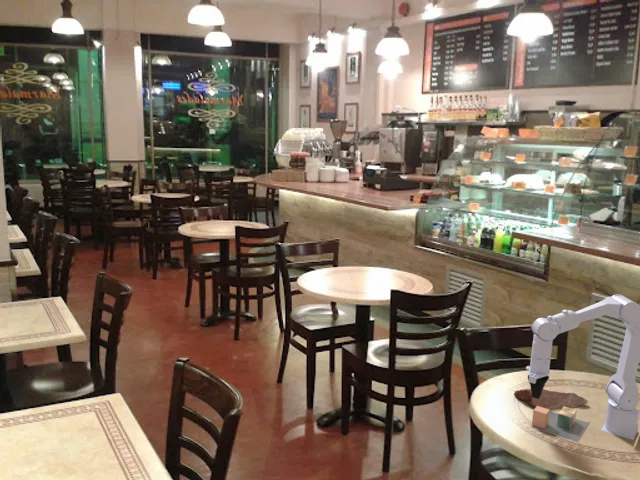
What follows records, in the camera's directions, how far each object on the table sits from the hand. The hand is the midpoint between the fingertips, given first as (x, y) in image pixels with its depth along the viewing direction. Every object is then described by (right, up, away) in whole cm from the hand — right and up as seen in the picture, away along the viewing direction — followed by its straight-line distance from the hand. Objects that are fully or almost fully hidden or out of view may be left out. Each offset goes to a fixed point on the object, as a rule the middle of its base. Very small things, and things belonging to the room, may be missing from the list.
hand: (535, 397), depth 196 cm
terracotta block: (+2, -9, +3) cm, 10 cm away
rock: (+13, -8, +22) cm, 26 cm away
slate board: (+9, -10, +4) cm, 14 cm away
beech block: (+10, -8, +2) cm, 13 cm away
